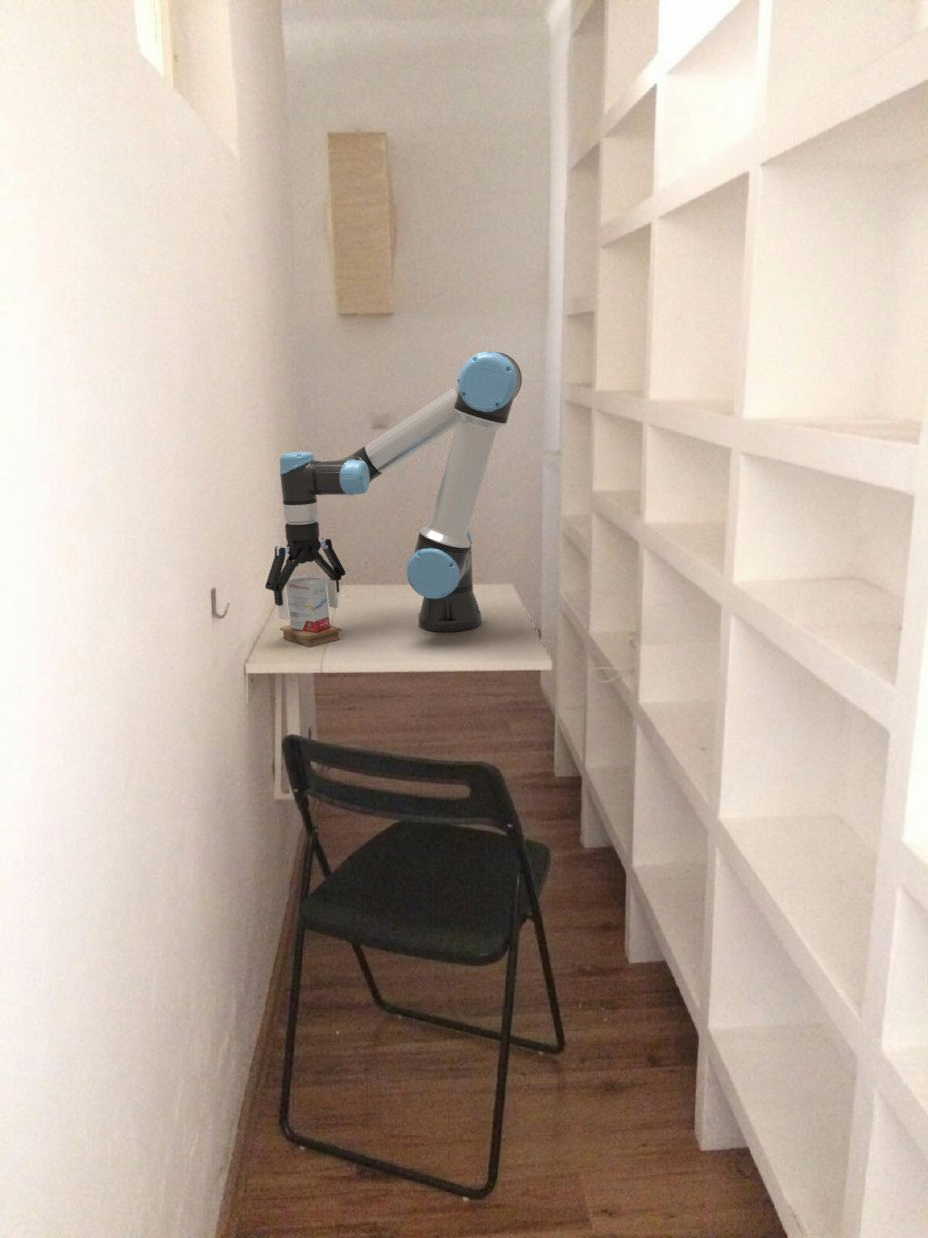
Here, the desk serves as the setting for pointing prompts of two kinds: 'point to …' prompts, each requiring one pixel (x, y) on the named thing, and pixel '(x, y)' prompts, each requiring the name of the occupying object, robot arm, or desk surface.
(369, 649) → the desk surface
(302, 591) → the ink box
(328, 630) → the walnut stand
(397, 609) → the desk surface
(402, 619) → the desk surface
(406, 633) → the desk surface
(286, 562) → the robot arm
